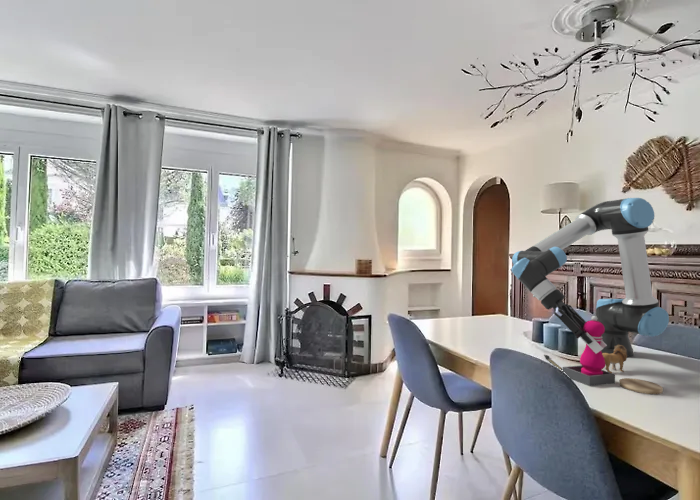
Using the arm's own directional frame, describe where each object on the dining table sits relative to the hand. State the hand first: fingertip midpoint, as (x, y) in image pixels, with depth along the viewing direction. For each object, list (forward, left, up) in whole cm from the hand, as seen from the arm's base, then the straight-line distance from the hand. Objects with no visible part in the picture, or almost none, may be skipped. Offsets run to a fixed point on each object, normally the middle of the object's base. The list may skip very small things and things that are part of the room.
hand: (601, 349), depth 129 cm
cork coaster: (-8, +7, -11) cm, 15 cm away
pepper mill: (+1, -3, -9) cm, 10 cm away
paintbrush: (-2, -20, -11) cm, 23 cm away
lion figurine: (-15, -9, -11) cm, 21 cm away
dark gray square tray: (+2, -3, -11) cm, 11 cm away
